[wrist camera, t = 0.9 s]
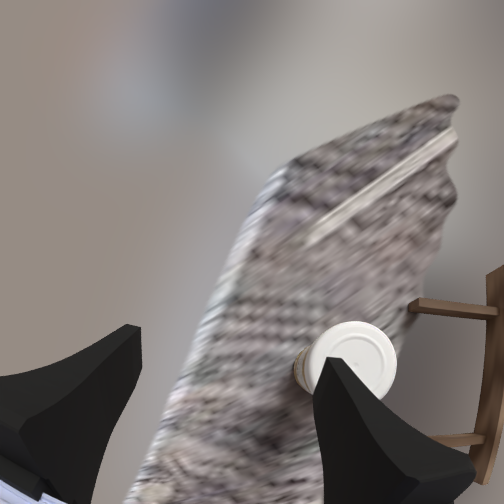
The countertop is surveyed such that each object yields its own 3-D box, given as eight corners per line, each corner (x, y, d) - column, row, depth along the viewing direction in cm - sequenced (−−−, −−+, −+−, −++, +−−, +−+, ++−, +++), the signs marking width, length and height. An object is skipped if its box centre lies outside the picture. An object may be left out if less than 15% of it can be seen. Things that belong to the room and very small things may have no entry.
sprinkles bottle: (341, 394, 25) (395, 412, 13) (289, 392, 26) (303, 412, 13) (345, 344, 27) (400, 320, 14) (294, 341, 27) (311, 316, 15)
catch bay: (468, 475, 20) (488, 483, 16) (378, 483, 21) (391, 497, 18) (490, 276, 27) (511, 264, 24) (410, 262, 29) (426, 247, 25)
